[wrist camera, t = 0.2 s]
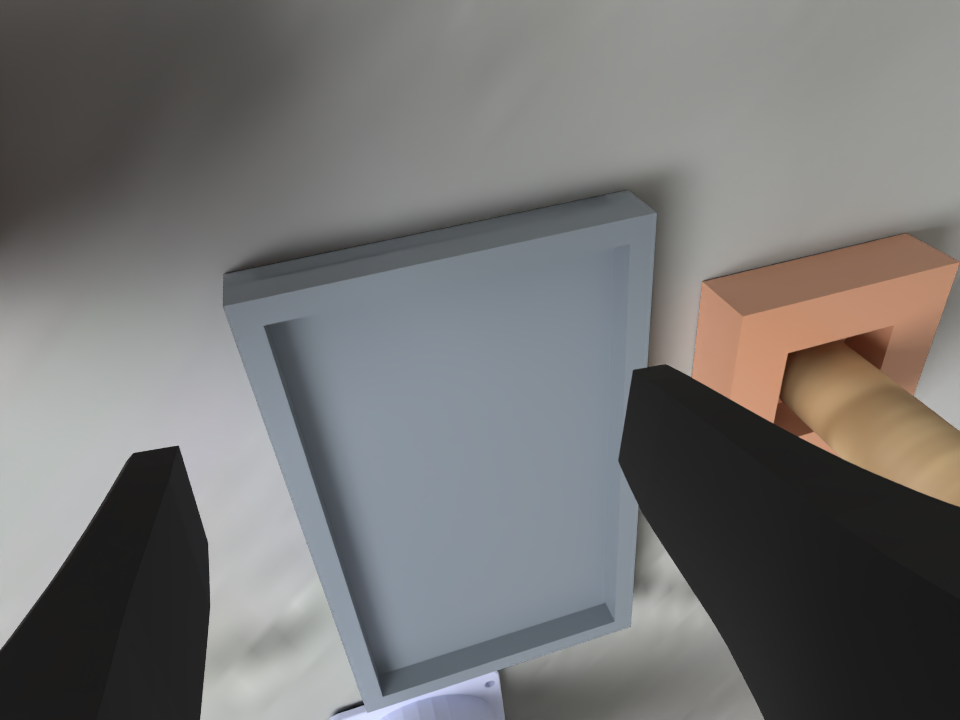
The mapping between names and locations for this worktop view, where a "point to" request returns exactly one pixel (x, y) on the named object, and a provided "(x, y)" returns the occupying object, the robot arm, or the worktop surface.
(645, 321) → the tray
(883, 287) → the orange square hole block
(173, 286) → the worktop surface
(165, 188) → the worktop surface
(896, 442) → the dowel pin
